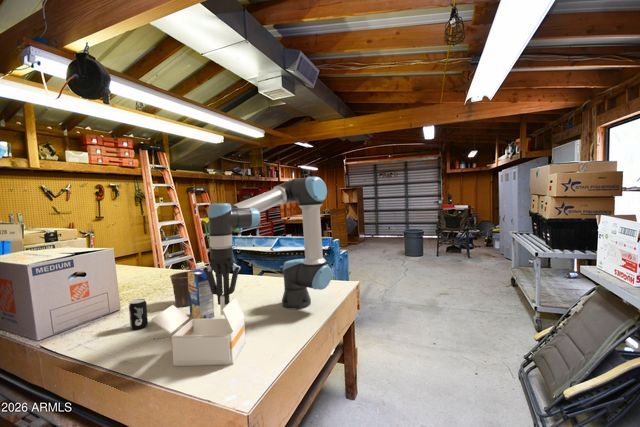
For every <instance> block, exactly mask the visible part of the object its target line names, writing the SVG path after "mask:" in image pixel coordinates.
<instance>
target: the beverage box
mask: <svg viewBox="0 0 640 427" xmlns="http://www.w3.org/2000/svg"><path fill="white" fill-rule="evenodd" d="M203 269H204V268H197V269H193V270H187V272H188V288H189V304H190V306H189V316H190V318H192V319H207V318H215V302H214V294H212V292H211V289H210V285H209V282H208V279H207V275H206V273H205V272H204V271H203Z"/></svg>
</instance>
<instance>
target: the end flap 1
mask: <svg viewBox="0 0 640 427" xmlns="http://www.w3.org/2000/svg"><path fill="white" fill-rule="evenodd" d="M150 319H151V321H152V322H153V323H155V324H156V325H157V326H159V327H160V328H162V330H164V331H165V332H166V333H168V334H169V335H172V333H173V332H175V331H176V330H177V329H178V328H180V326H182V325H184V323H186V322H187V321H188V320H189V319H190V317H189V316H188V315H187V314H185V313H184V312H183V311H181V310H180V309H179V308H177V307H176V305H174V304H172V305H171V306H169V307H166V309H164V310H163V311H161V312H159V313H158V314H157V315H155V316H154V317H152V318H150Z"/></svg>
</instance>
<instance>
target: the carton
mask: <svg viewBox="0 0 640 427" xmlns="http://www.w3.org/2000/svg"><path fill="white" fill-rule="evenodd" d="M245 329H246V328H245V316H244V317H243V319H242V320H241V321H240V323H239V324H238V326H237V327H236V328H235V330H234V331H233V332H232V331H231V329H230V327H229V325H228V323H227V321H226V318H225V317H216V318H215V317H213V318H207V319H194V318H192V319H190V320H189V321H188V322H187V323H186V324H185V325H183V327H181V328H179V330H177V332H175V333H174V334H173V335H171V350H172V361H173V367H184V366H185V367H187V366H191V367H192V366H194V367H195V366H220V365H221V366H225V365H226V366H227V365H229V366H230V365H231V366H232V365H234V363H235V362H236V360H237V358H239V355H240V353H241V352H242V350H243V348H244V346H245V344H246V330H245Z"/></svg>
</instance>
